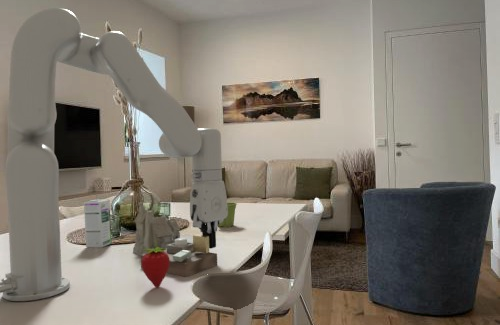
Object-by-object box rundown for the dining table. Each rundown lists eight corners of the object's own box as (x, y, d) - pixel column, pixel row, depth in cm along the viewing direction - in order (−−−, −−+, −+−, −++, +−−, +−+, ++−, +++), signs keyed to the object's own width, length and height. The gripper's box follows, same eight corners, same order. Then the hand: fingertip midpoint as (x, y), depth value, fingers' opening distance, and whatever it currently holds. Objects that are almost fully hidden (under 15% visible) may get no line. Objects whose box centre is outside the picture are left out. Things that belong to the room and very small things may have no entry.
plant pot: (210, 225, 161) (209, 203, 160) (232, 223, 165) (231, 201, 164) (218, 229, 152) (217, 205, 152) (241, 226, 156) (240, 203, 156)
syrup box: (102, 247, 126) (100, 201, 126) (85, 247, 128) (83, 201, 127) (112, 243, 132) (110, 198, 132) (95, 243, 133) (94, 199, 133)
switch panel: (186, 276, 94) (185, 256, 94) (141, 266, 103) (140, 248, 103) (217, 265, 103) (216, 246, 103) (173, 257, 112) (172, 239, 112)
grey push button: (181, 251, 104) (180, 241, 104) (172, 249, 106) (172, 239, 106) (189, 248, 107) (189, 238, 107) (181, 247, 109) (181, 237, 109)
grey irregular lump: (145, 259, 111) (146, 203, 111) (126, 250, 124) (127, 201, 125) (196, 253, 119) (197, 202, 120) (173, 246, 133) (174, 199, 134)
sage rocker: (181, 261, 95) (180, 256, 95) (173, 260, 97) (172, 255, 96) (191, 255, 98) (190, 250, 98) (184, 254, 99) (183, 249, 99)
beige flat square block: (206, 253, 101) (205, 237, 101) (193, 251, 104) (192, 235, 104) (209, 252, 102) (208, 236, 102) (196, 250, 105) (196, 234, 105)
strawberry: (139, 294, 83) (137, 245, 83) (144, 282, 91) (143, 237, 90) (169, 292, 84) (167, 243, 84) (171, 280, 91) (170, 236, 91)
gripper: (197, 178, 97) (200, 255, 97) (236, 175, 109) (238, 243, 110) (175, 178, 101) (178, 251, 102) (215, 174, 114) (217, 240, 114)
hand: (209, 247), depth 106 cm, fingers closed
